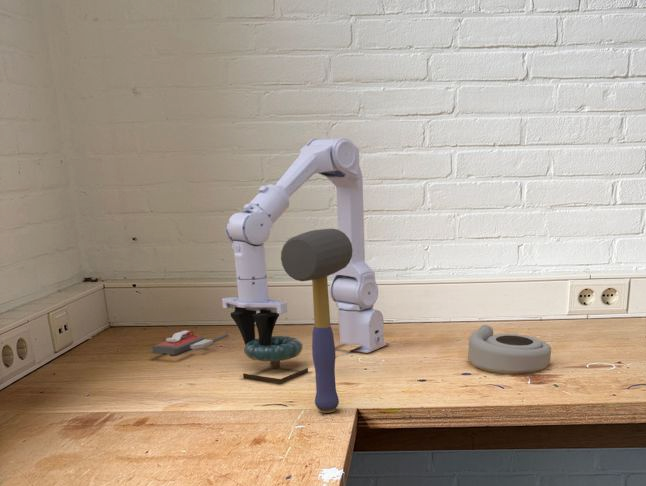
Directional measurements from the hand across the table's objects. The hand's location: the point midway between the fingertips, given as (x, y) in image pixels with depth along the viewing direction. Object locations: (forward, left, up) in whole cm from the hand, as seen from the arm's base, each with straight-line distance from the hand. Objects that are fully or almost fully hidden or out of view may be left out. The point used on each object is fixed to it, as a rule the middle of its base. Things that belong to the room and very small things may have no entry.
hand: (257, 346), depth 157 cm
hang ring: (-4, 0, 0) cm, 4 cm away
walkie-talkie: (+26, -8, -6) cm, 28 cm away
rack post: (-4, 0, -5) cm, 7 cm away
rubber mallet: (-26, +14, -6) cm, 30 cm away
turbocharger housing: (-42, -26, -6) cm, 50 cm away
